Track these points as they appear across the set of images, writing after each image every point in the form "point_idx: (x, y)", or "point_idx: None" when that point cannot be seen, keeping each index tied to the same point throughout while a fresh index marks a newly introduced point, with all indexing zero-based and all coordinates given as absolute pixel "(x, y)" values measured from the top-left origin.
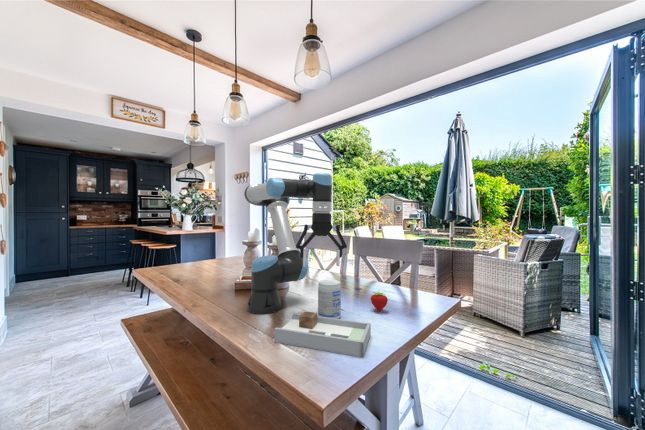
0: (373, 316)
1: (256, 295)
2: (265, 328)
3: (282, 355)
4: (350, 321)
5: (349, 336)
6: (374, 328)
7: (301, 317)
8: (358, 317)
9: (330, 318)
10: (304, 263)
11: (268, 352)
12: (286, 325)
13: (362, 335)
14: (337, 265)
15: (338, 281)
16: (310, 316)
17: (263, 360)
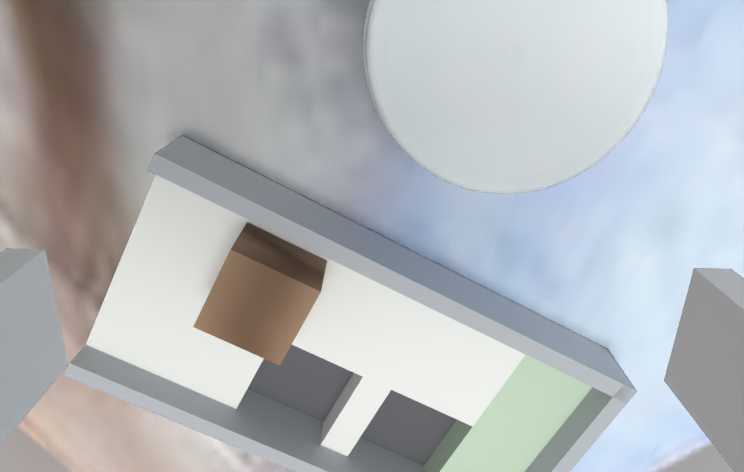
0: None
1: None
2: (7, 168)
3: (155, 446)
4: (528, 351)
5: (474, 429)
6: (680, 269)
7: (211, 330)
8: (668, 83)
9: (414, 290)
10: (20, 403)
11: (89, 418)
12: (132, 257)
13: (544, 430)
14: (671, 384)
15: (648, 38)
16: (270, 343)
17: (82, 467)
